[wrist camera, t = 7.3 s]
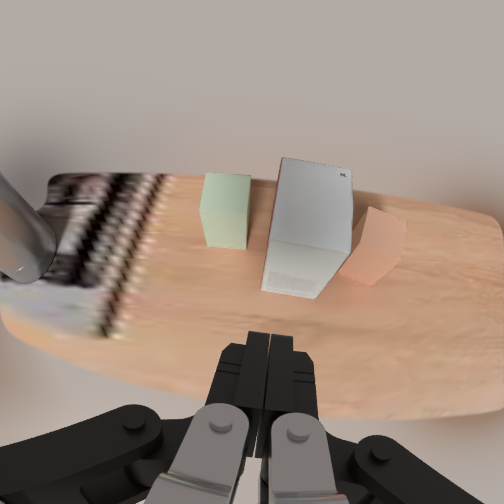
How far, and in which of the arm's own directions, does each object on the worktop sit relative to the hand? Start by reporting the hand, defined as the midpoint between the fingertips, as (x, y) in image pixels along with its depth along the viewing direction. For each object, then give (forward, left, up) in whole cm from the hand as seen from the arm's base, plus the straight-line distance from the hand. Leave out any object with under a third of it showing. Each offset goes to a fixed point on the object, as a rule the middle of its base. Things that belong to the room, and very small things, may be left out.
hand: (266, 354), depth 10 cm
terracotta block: (+9, +15, -22) cm, 28 cm away
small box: (+1, +13, -22) cm, 26 cm away
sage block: (-7, +15, -22) cm, 27 cm away
